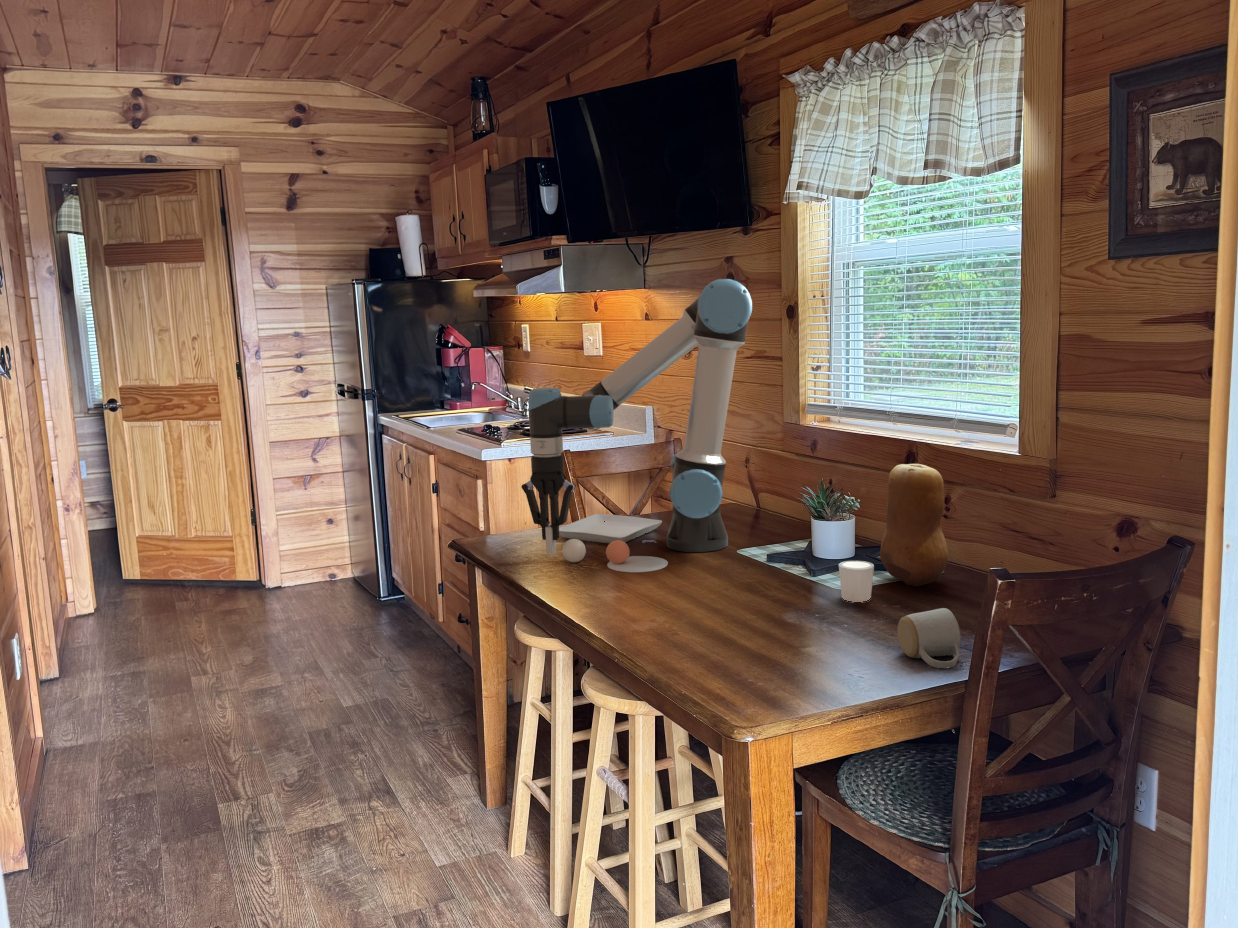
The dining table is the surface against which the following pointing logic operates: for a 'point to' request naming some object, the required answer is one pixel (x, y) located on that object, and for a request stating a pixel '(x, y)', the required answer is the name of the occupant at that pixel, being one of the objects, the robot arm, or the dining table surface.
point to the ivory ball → (574, 550)
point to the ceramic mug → (930, 636)
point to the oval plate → (639, 564)
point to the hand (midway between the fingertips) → (551, 553)
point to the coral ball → (617, 552)
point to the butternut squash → (914, 525)
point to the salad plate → (608, 528)
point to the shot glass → (856, 580)
